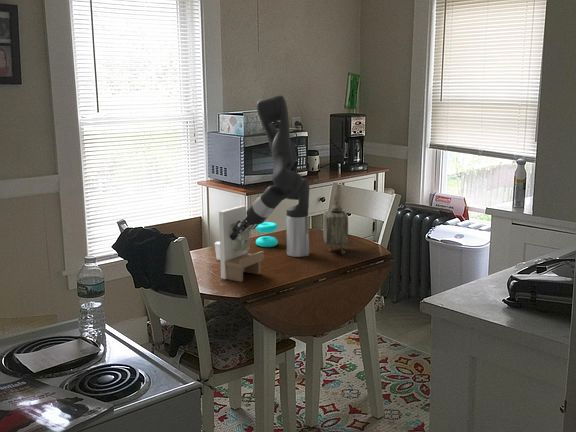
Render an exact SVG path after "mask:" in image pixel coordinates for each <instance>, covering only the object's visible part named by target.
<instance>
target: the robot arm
mask: <svg viewBox="0 0 576 432" xmlns="http://www.w3.org/2000/svg"><path fill="white" fill-rule="evenodd" d="M288 110H289V109H288V105H287V102H286V100H285V97H284V96H283V95H281V94H280V95H279V94H277V95H274V96H271V97H267V98H263V99H260V100H258V101H257V102H256V111H257V114H258V117H259V119H260V122H261V126H262V128H263V130H264V132H265V135H266V138H267V141H268V145H269V148H270V149H269V150H270V153H271V156H272V158H273V159H272V160H273V169H272V170H273V171H272V177H271V178H272V182H273V185H269V186H268V187H267V188H265V190H264V191H263V193H261V194H260V195H259V196H258V197H257V198H256V199H255V200H254V202H253V203H252V204H251V205H250V206H249V207H248V209H246V216H247V217H245V218H244V219H243V221H238V222H237V223H236V225H235V226H234V227H233V229H232V231H233V233H232V234H231V235H230V238H231V239H232V240H235V239H236V237H237V236H238V235H239V234H240V233H241V232H245V231H246V230H247V229H248V228H250V232H251V231H252V230H256V227H257V226H258V225H259V224H262V223H263V222H266V220H267V219H268V218H269V217H270V215H271V214H273V212H274V211H275V209H276V208H277V207H278V205H280V204H281V202H282V201H284V200H286V199H287V200H294V201H298V203H297V205H294V206H290V207H288V208H287V209H286V255H287V256H289V257H293V258H296V257H297V258H299V257H307V256H308V257H309V256H310V234H309V208H310V207H309V206H310V181H309V180H308V179H307V178H303V177H302V176H301V174H300V173H298V172H297V171H294V170H292V168H293V166H294V164H295V162H296V159H297V154H296V149H295V146H294V143H293V141H292V139H291V138H290V137H291V136H290V135H291V133H290V120H289V111H288ZM274 122H279V127H278V129H277V128H276V127H275V125H274V124H273V123H274ZM243 227H244V228H245V229H244V228H243ZM240 230H241V231H240Z"/></svg>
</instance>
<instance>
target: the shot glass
mask: <svg viewBox="0 0 576 432" xmlns="http://www.w3.org/2000/svg"><path fill="white" fill-rule="evenodd" d="M214 250H215V256H216V260H217V261H220V240H219V241H218V240H217V241H215V242H214Z"/></svg>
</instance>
